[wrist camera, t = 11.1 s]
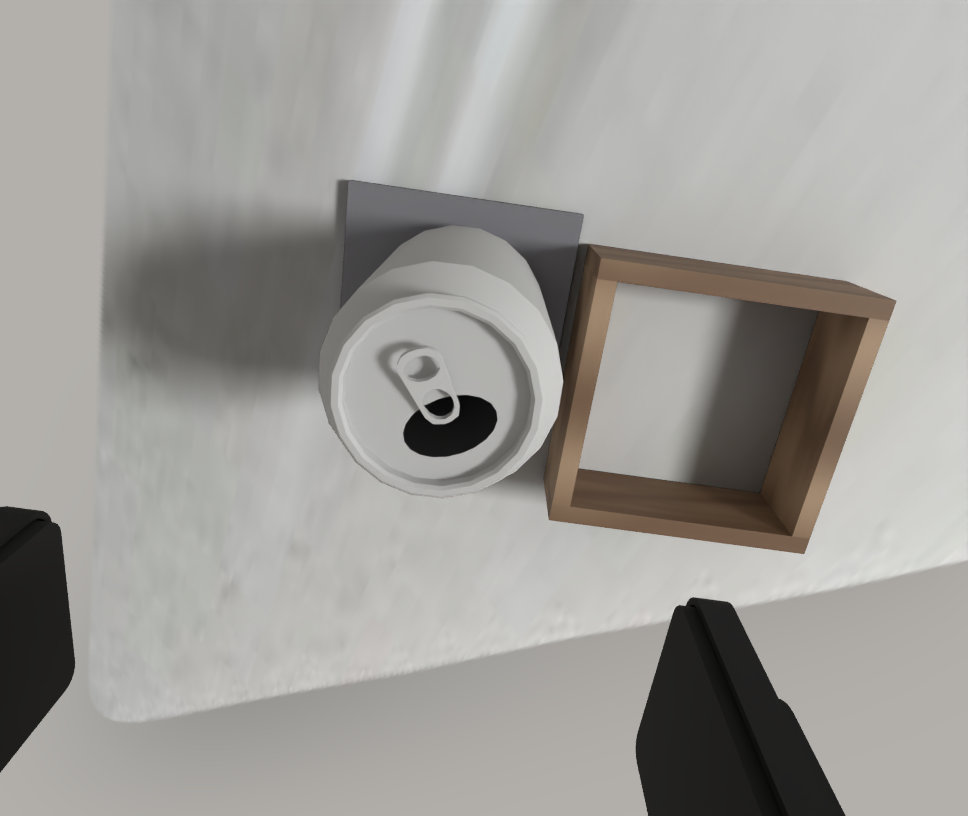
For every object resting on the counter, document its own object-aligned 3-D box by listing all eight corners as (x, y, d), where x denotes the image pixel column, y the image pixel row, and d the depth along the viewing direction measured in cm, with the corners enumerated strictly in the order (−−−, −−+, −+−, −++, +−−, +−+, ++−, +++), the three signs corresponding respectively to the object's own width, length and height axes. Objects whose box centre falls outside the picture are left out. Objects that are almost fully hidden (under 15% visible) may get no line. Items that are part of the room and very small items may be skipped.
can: (412, 409, 32) (367, 550, 21) (347, 258, 30) (256, 327, 18) (563, 357, 31) (601, 476, 20) (509, 196, 29) (517, 229, 17)
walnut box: (588, 243, 30) (601, 258, 26) (847, 281, 30) (896, 301, 26) (543, 478, 34) (548, 519, 30) (771, 509, 34) (804, 554, 30)
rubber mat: (350, 179, 29) (348, 180, 28) (582, 213, 29) (583, 215, 29) (337, 397, 33) (334, 401, 32) (543, 425, 33) (543, 430, 32)
